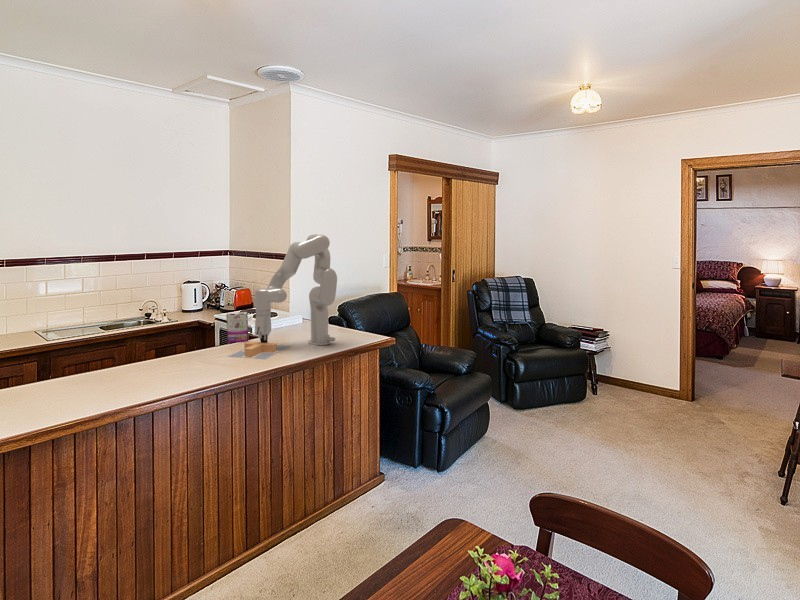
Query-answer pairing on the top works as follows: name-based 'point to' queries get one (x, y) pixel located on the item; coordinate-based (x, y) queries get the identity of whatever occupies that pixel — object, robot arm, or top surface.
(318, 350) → the top surface
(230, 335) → the candy bar box
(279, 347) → the mat
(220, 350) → the top surface
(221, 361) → the top surface
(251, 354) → the t block
